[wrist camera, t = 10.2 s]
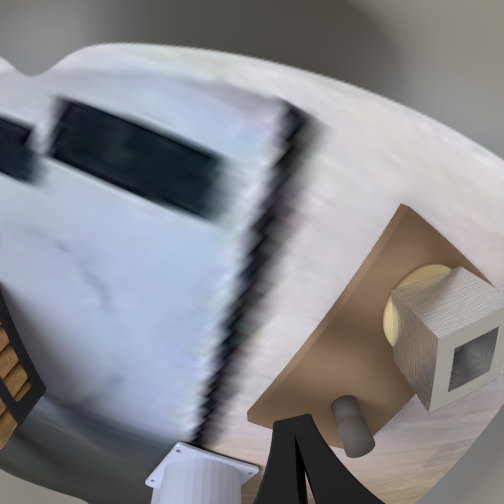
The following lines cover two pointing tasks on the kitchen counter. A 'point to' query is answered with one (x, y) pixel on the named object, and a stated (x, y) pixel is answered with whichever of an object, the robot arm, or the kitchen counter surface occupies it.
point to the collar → (448, 335)
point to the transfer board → (360, 343)
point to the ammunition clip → (15, 378)
